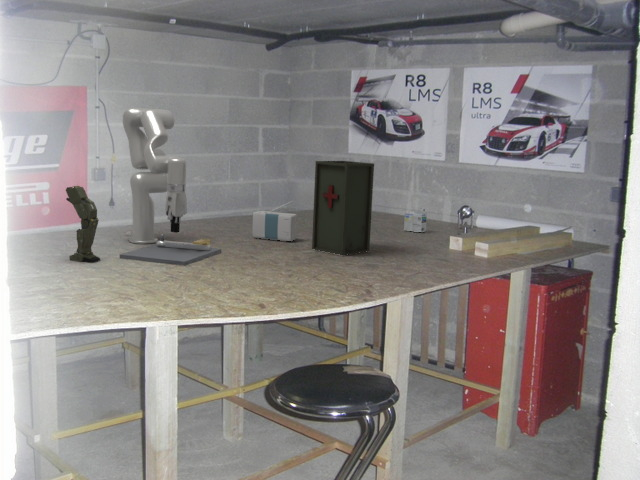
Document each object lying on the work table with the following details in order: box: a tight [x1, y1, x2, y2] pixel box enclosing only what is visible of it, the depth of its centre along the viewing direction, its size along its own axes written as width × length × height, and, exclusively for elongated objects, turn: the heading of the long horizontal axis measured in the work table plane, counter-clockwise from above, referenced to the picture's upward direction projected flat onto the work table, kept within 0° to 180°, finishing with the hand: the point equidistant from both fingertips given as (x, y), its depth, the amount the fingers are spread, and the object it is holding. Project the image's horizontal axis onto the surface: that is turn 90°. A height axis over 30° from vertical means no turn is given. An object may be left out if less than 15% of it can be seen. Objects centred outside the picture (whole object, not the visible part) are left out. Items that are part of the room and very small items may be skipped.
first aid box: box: [311, 160, 375, 256], centre depth 304 cm, size 18×18×40 cm
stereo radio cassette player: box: [251, 199, 298, 242], centre depth 328 cm, size 21×8×20 cm, turn 68°
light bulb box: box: [403, 211, 427, 232], centre depth 374 cm, size 11×7×11 cm, turn 58°
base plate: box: [119, 243, 222, 266], centre depth 281 cm, size 29×32×2 cm
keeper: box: [192, 238, 211, 245], centre depth 286 cm, size 3×10×4 cm, turn 162°
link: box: [156, 233, 212, 250], centre depth 288 cm, size 24×5×5 cm, turn 76°
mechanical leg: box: [65, 185, 101, 264], centre depth 261 cm, size 14×7×30 cm, turn 71°
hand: (174, 231), depth 282 cm, fingers closed
